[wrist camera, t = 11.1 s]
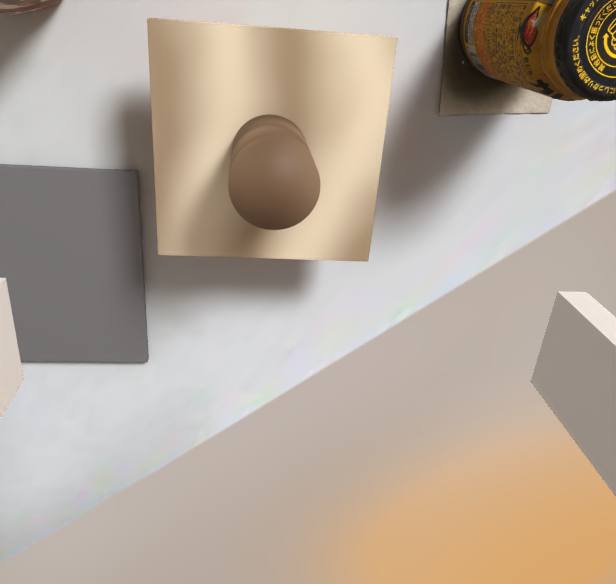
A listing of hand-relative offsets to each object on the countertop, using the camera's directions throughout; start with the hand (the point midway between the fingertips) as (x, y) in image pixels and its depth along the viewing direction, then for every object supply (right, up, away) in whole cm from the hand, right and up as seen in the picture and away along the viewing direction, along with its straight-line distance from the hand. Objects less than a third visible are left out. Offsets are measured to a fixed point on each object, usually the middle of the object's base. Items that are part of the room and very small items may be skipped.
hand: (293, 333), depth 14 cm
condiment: (+12, +16, +21) cm, 29 cm away
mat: (-18, +3, +24) cm, 30 cm away
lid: (-2, +9, +17) cm, 20 cm away
